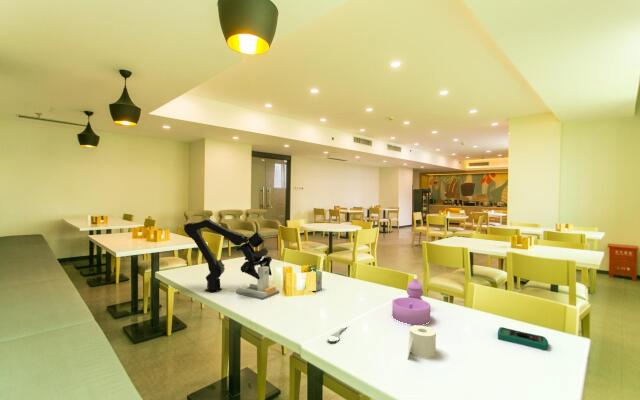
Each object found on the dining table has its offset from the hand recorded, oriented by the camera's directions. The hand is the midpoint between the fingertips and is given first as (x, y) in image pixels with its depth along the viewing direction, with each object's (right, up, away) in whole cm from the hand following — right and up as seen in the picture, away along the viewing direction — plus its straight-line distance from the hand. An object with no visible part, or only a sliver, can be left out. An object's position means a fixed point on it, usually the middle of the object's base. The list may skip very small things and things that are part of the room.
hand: (265, 277), depth 157 cm
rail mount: (-4, -9, +3) cm, 10 cm away
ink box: (+25, -10, +9) cm, 29 cm away
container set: (+68, -11, -23) cm, 73 cm away
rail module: (-1, -8, +1) cm, 8 cm away
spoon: (+36, -11, -43) cm, 57 cm away
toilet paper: (+60, -11, -57) cm, 83 cm away
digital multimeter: (+100, -12, -47) cm, 111 cm away
